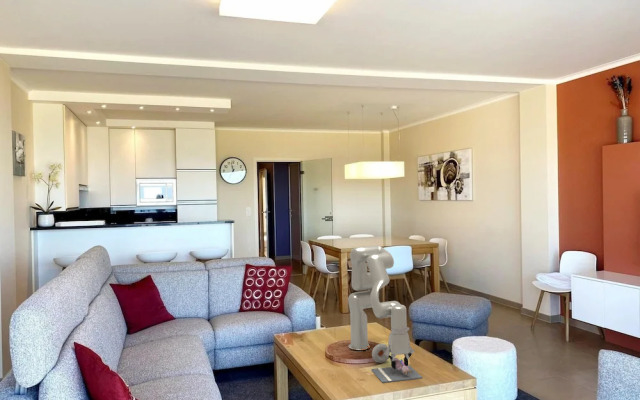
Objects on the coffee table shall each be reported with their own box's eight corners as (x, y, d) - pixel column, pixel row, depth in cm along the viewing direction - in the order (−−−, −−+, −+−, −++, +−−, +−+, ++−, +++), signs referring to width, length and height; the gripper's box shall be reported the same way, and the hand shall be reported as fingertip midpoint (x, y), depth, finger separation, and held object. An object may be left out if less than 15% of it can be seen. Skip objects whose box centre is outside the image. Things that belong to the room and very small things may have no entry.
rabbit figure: (413, 375, 228) (396, 360, 241) (414, 364, 226) (397, 349, 240) (402, 378, 225) (385, 362, 238) (403, 366, 224) (386, 351, 237)
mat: (371, 370, 239) (371, 368, 239) (408, 365, 243) (408, 364, 243) (382, 383, 223) (382, 381, 223) (422, 378, 227) (422, 376, 227)
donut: (373, 365, 245) (373, 346, 245) (370, 363, 248) (370, 344, 248) (391, 362, 248) (390, 343, 248) (388, 360, 251) (387, 341, 251)
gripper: (412, 326, 238) (413, 362, 239) (379, 330, 234) (380, 366, 235) (418, 331, 231) (419, 368, 231) (384, 334, 227) (385, 372, 228)
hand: (399, 367), depth 233 cm, fingers closed on rabbit figure, 5 cm apart
